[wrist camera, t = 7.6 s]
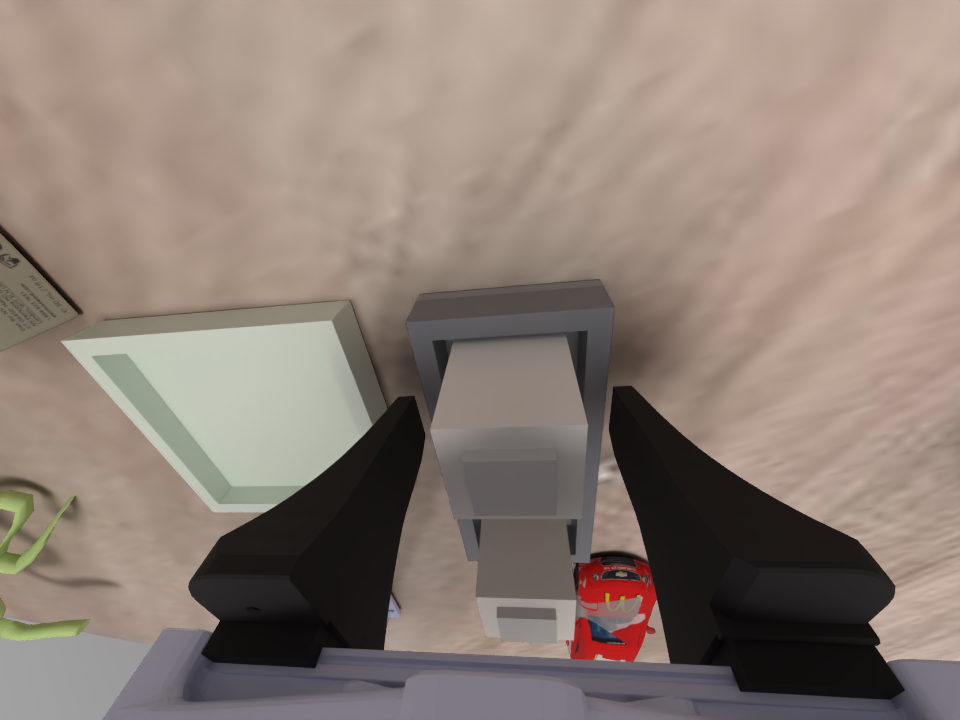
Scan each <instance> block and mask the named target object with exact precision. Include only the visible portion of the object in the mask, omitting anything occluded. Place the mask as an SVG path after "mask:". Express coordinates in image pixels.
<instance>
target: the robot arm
mask: <svg viewBox="0 0 960 720" xmlns="http://www.w3.org/2000/svg"><path fill="white" fill-rule="evenodd" d="M609 433H610V438H611V442H612V447H613V451H614V455H615V458H616V461H617V464H618V467H619V469H620V472H621V475H622V478H623V480H624V483H625V486H626V489H627V491H628V494H629V497H630V500H631V502H632V505H633V508H634V511H635V513H636V516H637V520H638V523H639V526H640V530H641V534H642V538H643V542H644V545H645V549H646V553H647V557H648V562H649V566H650V570H651V574H652V578H653V583H654V587H655V592H656V596H657V601H658V605H659V610H660V614H661V619H662V624H663V629H664V633H665V638H666V643H667V648H668V653H669V658H670V664H666V663H645V662H623V661H602V660H581V659H559V658H538V657H517V656H495V655H474V654H453V653H432V652H410V651H389V650H384V643H385V635H386V628H387V624H388V620H389V618H399V617H400V614H401V611H400V609H399V607H398V606H397V604H396V602H395V600H394V598H393V597H392V595H391V590H392V583H393V577H394V571H395V565H396V559H397V553H398V548H399V543H400V537H401V532H402V527H403V523H404V519H405V515H406V511H407V508H408V505H409V501H410V498H411V494H412V491H413V488H414V484H415V481H416V478H417V474H418V471H419V467H420V464H421V460H422V455H423V449H424V442H425V432H424V428H423V425H422V421H421V418H420V414H419V410H418V407H417V403H416V400H415V396H405V397H398V398H397V399H396V400H395V401H394V403H393V404H392V405H391V406H390V407H389V408H388V409H387V410H386V411H385V413H384V414H383V415H382V416H381V417H380V418H379V419H378V420H377V421H376V422H375V424H374V425H373V426H372V427H371V428H370V429H369V430H368V431H367V432H366V433H365V434H364V435H363V436H362V437H361V438H360V439H359V440H358V441H357V442H356V443H355V444H354V445H353V446H352V447H351V448H350V449H349V450H348V451H347V452H346V453H345V454H344V455H343V456H341V457H340V458H339V459H338V460H337V461H336V462H335V463H334V464H332V465H331V466H330V467H329V468H327V469H326V470H325V471H324V472H323V473H321V474H320V475H319V476H318V477H316V478H315V479H314V480H312V481H311V482H309V483H308V484H307V485H305V486H304V487H303V488H301V489H300V490H298V491H297V492H296V493H294V494H293V495H291V496H290V497H288V498H287V499H285V500H284V501H282V502H281V503H279V504H278V505H276V506H275V507H273V508H271V509H270V510H268V511H266V512H265V513H263V514H261V515H260V516H258V517H256V518H255V519H253V520H251V521H249V522H247V523H246V524H244V525H242V526H240V527H238V528H237V529H235V530H233V531H231V532H229V533H227V534H226V535H224V536H222V537H220V539H219V540H218V541H217V543H216V544H215V546H214V547H213V548H212V550H211V551H210V553H209V554H208V556H207V557H206V558H205V560H204V561H203V563H202V564H201V566H200V567H199V569H198V570H197V571H196V573H195V574H194V576H193V577H192V579H191V580H190V582H189V586H188V587H189V591H190V593H191V596H192V597H193V598H194V599H195V600H196V601H197V602H199V603H200V604H201V605H202V606H203V607H205V608H206V609H207V610H208V611H209V612H211V613H212V614H213V615H214V616H215V617H217V618H218V619H219V620H220V622H219V624H218V625H217V627H216V629H215V631H214V632H213V633H212V632H209V631H206V630H200V629H180V628H167V629H165V630H163V631H162V633H161V634H160V636H159V637H158V639H157V640H156V642H155V643H154V645H153V646H152V648H151V649H150V651H149V652H148V654H147V655H146V656H145V658H144V659H143V661H142V662H141V664H140V665H139V667H138V668H137V670H136V671H135V673H134V674H133V675H132V677H131V678H130V680H129V681H128V683H127V684H126V686H125V687H124V689H123V690H122V692H121V693H120V695H119V696H118V698H117V699H116V700H115V702H114V703H113V705H112V706H111V708H110V709H109V711H108V712H107V714H106V715H105V717H104V718H103V719H102V720H960V661H941V660H917V659H901V660H894V661H889V662H887V663H886V661H885V660H884V659H883V657H882V656H881V654H880V653H879V651H878V650H877V648H876V647H875V646H878V645H879V644H880V639H879V637H878V636H877V634H876V633H875V632H874V630H873V629H872V627H871V626H870V625H869V623H868V622H869V621H870V620H871V619H873V618H874V617H875V616H876V615H877V614H878V613H879V612H880V611H882V610H883V609H884V608H885V607H886V606H887V605H888V604H889V603H890V602H891V600H892V599H893V598H894V594H895V585H894V584H893V582H892V581H891V579H890V578H889V577H888V576H887V574H886V573H885V572H884V571H883V569H882V568H881V567H880V566H879V564H878V563H877V562H876V561H875V559H874V558H873V557H872V556H871V555H870V554H869V553H868V551H867V550H866V549H865V548H864V547H863V546H862V545H861V544H860V543H859V541H858V540H856V539H854V538H852V537H850V536H848V535H846V534H844V533H842V532H840V531H838V530H835V529H833V528H831V527H829V526H827V525H825V524H823V523H821V522H819V521H817V520H815V519H813V518H810V517H808V516H807V515H805V514H803V513H801V512H799V511H797V510H795V509H793V508H792V507H790V506H788V505H786V504H784V503H782V502H780V501H779V500H777V499H775V498H773V497H772V496H770V495H768V494H766V493H765V492H763V491H761V490H760V489H758V488H756V487H755V486H753V485H752V484H750V483H748V482H747V481H745V480H743V479H742V478H740V477H739V476H737V475H736V474H734V473H733V472H731V471H730V470H728V469H727V468H725V467H724V466H722V465H721V464H720V463H718V462H717V461H715V460H714V459H713V458H711V457H710V456H708V455H707V454H706V453H704V452H703V451H702V450H700V449H699V448H698V447H697V446H695V445H694V444H693V443H692V442H691V441H689V440H688V439H687V438H686V437H685V436H683V435H682V434H681V433H680V432H679V431H678V430H677V429H676V428H674V427H673V426H672V425H671V424H670V423H669V422H668V421H667V420H666V419H665V418H664V417H663V416H661V415H660V414H659V413H658V412H657V411H656V410H655V409H654V408H653V407H652V406H651V405H650V404H649V403H648V402H647V401H646V400H645V399H644V398H643V397H642V396H641V395H640V394H639V393H638V392H637V391H636V390H635V389H634V388H633V387H632V386H619V387H613V395H612V404H611V413H610V422H609Z"/></svg>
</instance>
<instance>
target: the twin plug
mask: <svg viewBox="0 0 960 720" xmlns="http://www.w3.org/2000/svg"><path fill="white" fill-rule="evenodd" d="M476 601H477V605H478V608H479V612H480V616H481V619H482V623H483V627H484V630H485V634H486V637H501V640H502V641H510V642H532V643H555V644H557V640H573V641H574V629H575V614H576V593H575V586H574V578H573V571H572V563H571V556H570V548H569V541H568V533H567V526H566V519H482V520H481V533H480V546H479V559H478V572H477V585H476Z"/></svg>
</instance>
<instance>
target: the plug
mask: <svg viewBox="0 0 960 720" xmlns="http://www.w3.org/2000/svg"><path fill="white" fill-rule="evenodd" d="M430 432H431V435H432V439H433V443H434V446H435V450H436V454H437V457H438V461H439V465H440V468H441V472H442V476H443V479H444V483H445V487H446V490H447V494H448V498H449V501H450V505H451V509H452V513H453V516H454V519H582V508H583V493H584V477H585V462H586V447H587V432H588V423H587V419H586V415H585V411H584V407H583V403H582V399H581V395H580V391H579V386H578V382H577V378H576V374H575V370H574V366H573V362H572V358H571V354H570V350H569V346H568V342H567V338H566V334H565V332H558V333H543V334H528V335H512V336H497V337H482V338H467V339H454V341H453V345H452V348H451V352H450V356H449V360H448V364H447V367H446V371H445V375H444V379H443V383H442V386H441V390H440V394H439V398H438V401H437V405H436V409H435V413H434V417H433V420H432V424H431V428H430Z"/></svg>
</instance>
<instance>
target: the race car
mask: <svg viewBox="0 0 960 720" xmlns="http://www.w3.org/2000/svg"><path fill="white" fill-rule="evenodd" d="M575 564H576V567H575V569H574V577H573V578H574V586H575V593H576V614H575V629H574V641H573V640H566V644H567V647H568V650H569V653H570V657H571V659H581V660H602V661H623V662H633V661H634V659H635V658H636V656H637V654H638V652H639V650H640V648H641V645H642V643H643V640H644V637H645V633H646V631H647V633H649V634H654V633H655V629H654V628H652V627H649V626H648V625H647V624H648V621H649V618H650V616H651V612H652V609H653V606H654V604H655V602H656V600H657V596H656V592H655V587H654V583H653V578H652V574H651V570H650V566H649V565H648V564H646V563H644V562H642V561H639V560H636V559H632V558H626V557H613V556H612V557H597V558H592V559H590V563H575Z"/></svg>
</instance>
